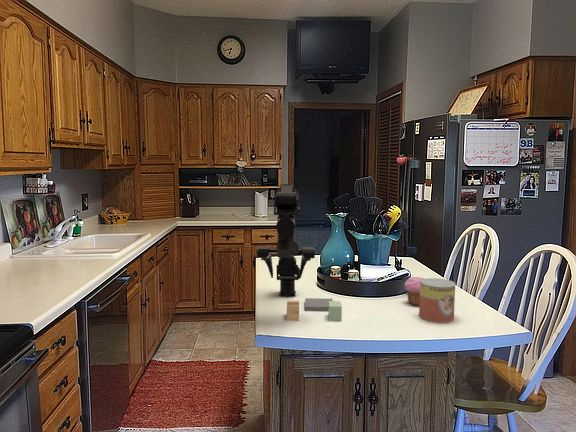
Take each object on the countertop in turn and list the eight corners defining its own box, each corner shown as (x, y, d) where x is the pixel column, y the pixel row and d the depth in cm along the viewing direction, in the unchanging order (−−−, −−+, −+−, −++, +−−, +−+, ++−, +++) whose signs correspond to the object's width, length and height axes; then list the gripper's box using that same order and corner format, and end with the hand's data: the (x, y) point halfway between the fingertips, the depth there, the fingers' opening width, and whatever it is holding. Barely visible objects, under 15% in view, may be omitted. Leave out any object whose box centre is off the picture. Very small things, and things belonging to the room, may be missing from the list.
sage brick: (328, 315, 158) (328, 301, 158) (340, 315, 158) (340, 301, 158) (329, 321, 152) (329, 306, 152) (341, 321, 152) (341, 306, 152)
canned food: (434, 325, 148) (435, 288, 147) (411, 314, 159) (412, 280, 157) (461, 320, 153) (463, 284, 152) (437, 310, 163) (439, 276, 162)
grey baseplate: (305, 302, 172) (305, 298, 172) (332, 302, 172) (332, 298, 172) (305, 310, 163) (305, 306, 162) (333, 311, 162) (333, 307, 162)
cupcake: (399, 301, 173) (400, 275, 172) (418, 299, 177) (419, 273, 175) (415, 308, 165) (415, 281, 164) (434, 305, 168) (435, 278, 167)
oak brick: (287, 314, 159) (287, 300, 158) (299, 314, 159) (299, 300, 158) (286, 320, 153) (286, 305, 152) (298, 320, 153) (298, 306, 152)
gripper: (254, 235, 144) (255, 284, 146) (315, 235, 143) (314, 284, 145) (258, 229, 155) (259, 275, 157) (314, 229, 154) (314, 275, 156)
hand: (286, 277), depth 153 cm, fingers open, 9 cm apart
